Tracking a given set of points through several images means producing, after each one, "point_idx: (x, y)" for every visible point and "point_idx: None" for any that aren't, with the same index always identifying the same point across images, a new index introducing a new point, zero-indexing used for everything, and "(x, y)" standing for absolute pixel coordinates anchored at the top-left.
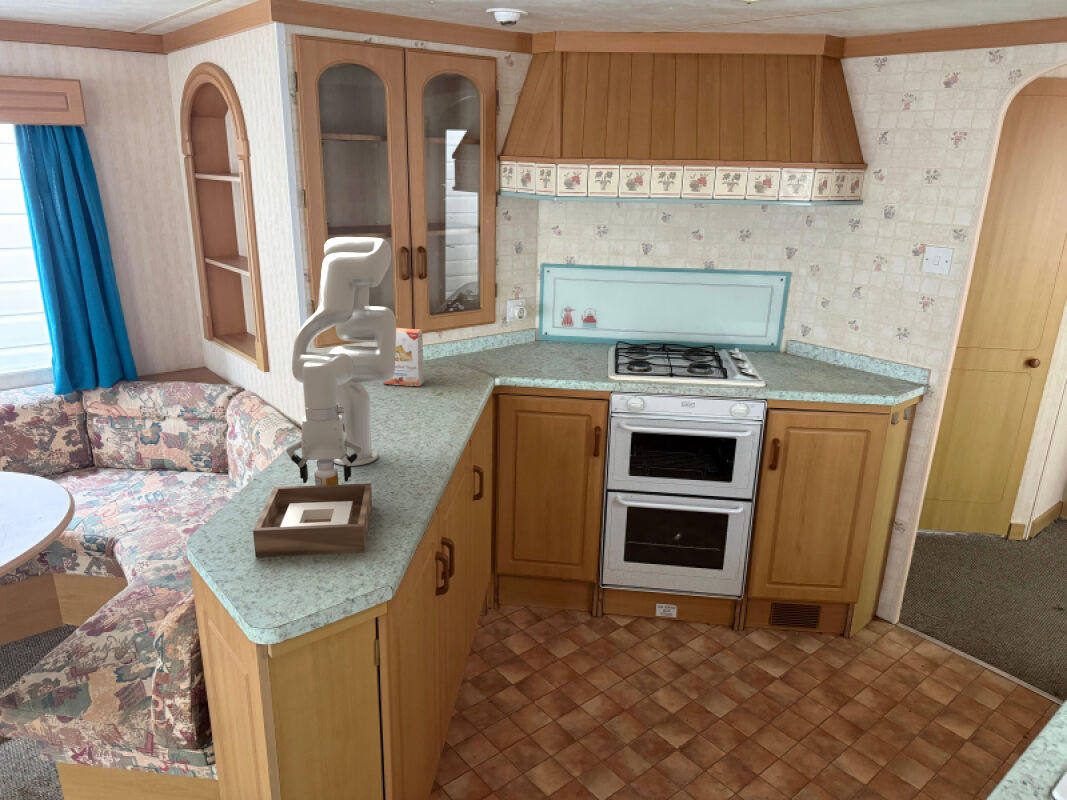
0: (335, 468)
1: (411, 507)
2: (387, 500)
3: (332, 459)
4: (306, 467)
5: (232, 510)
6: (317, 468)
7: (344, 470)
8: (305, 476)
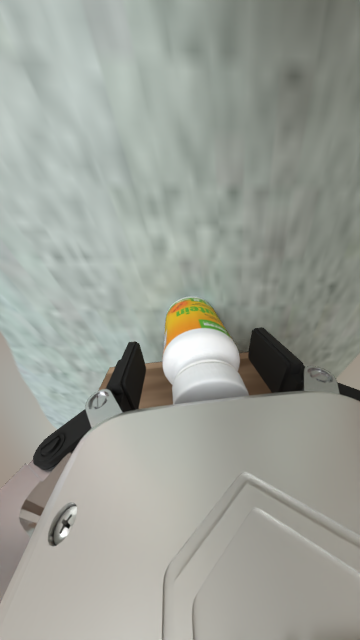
0: (236, 363)
1: (339, 348)
2: (308, 324)
3: (243, 393)
4: (132, 390)
5: (29, 370)
6: (170, 367)
7: (269, 386)
8: (142, 384)
